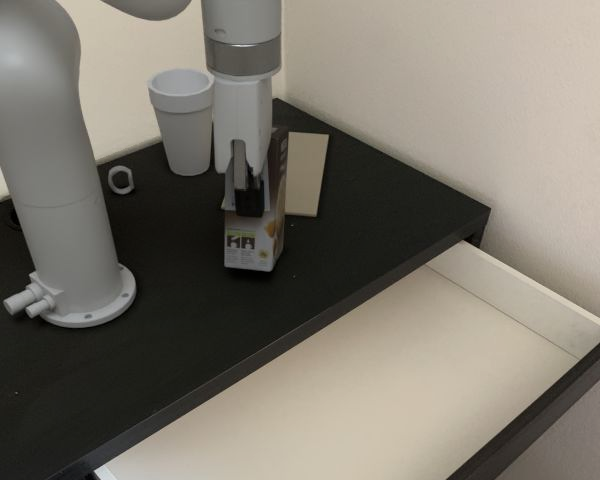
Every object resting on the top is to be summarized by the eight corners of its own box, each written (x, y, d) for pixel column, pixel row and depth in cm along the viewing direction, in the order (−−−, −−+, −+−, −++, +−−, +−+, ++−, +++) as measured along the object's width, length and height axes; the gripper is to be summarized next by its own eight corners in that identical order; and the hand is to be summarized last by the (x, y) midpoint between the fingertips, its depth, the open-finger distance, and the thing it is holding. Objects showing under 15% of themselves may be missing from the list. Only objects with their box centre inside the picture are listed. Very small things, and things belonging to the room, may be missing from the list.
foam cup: (209, 184, 101) (201, 99, 92) (151, 176, 102) (137, 92, 93) (225, 154, 107) (220, 71, 98) (171, 147, 109) (160, 64, 99)
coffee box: (273, 273, 83) (279, 138, 75) (223, 267, 84) (223, 133, 75) (283, 250, 91) (290, 125, 83) (238, 245, 91) (240, 120, 83)
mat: (316, 216, 96) (316, 214, 96) (221, 209, 97) (221, 206, 97) (328, 137, 112) (328, 134, 112) (247, 130, 113) (246, 128, 113)
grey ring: (111, 197, 98) (106, 172, 95) (109, 189, 100) (105, 164, 97) (135, 194, 99) (131, 169, 96) (134, 186, 100) (130, 162, 97)
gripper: (220, 19, 70) (231, 177, 84) (188, 80, 60) (206, 248, 74) (291, 24, 69) (289, 182, 83) (270, 86, 60) (272, 253, 74)
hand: (250, 212), depth 79 cm, fingers closed
